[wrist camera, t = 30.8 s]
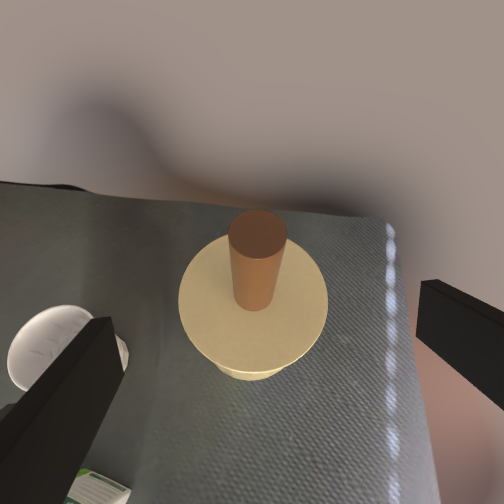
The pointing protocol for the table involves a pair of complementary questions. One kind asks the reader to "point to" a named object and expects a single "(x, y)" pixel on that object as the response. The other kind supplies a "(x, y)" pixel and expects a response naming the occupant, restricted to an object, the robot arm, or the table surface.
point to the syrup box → (96, 490)
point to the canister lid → (253, 297)
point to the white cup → (48, 342)
